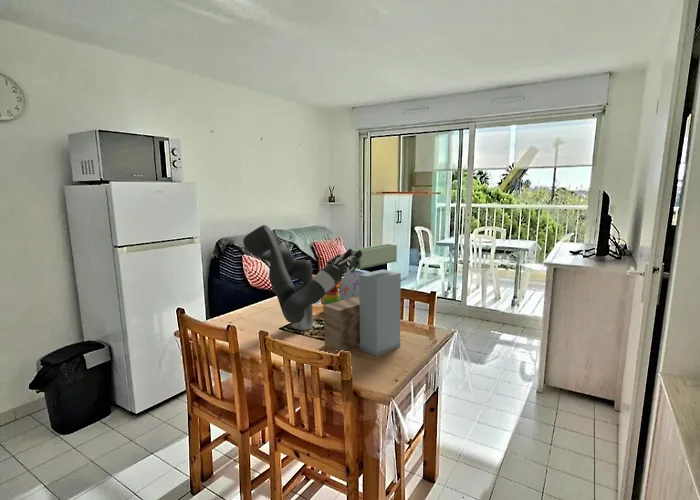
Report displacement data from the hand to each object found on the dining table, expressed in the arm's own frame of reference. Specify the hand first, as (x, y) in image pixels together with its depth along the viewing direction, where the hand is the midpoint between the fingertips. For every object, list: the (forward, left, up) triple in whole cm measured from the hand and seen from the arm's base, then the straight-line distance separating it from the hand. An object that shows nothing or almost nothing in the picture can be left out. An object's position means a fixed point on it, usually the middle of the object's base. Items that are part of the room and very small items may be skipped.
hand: (356, 251), depth 147 cm
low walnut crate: (-4, +15, -43) cm, 46 cm away
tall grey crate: (+8, +10, -43) cm, 45 cm away
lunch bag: (-2, +41, -43) cm, 60 cm away
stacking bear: (-21, +54, -43) cm, 72 cm away
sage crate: (+6, +8, -7) cm, 12 cm away
